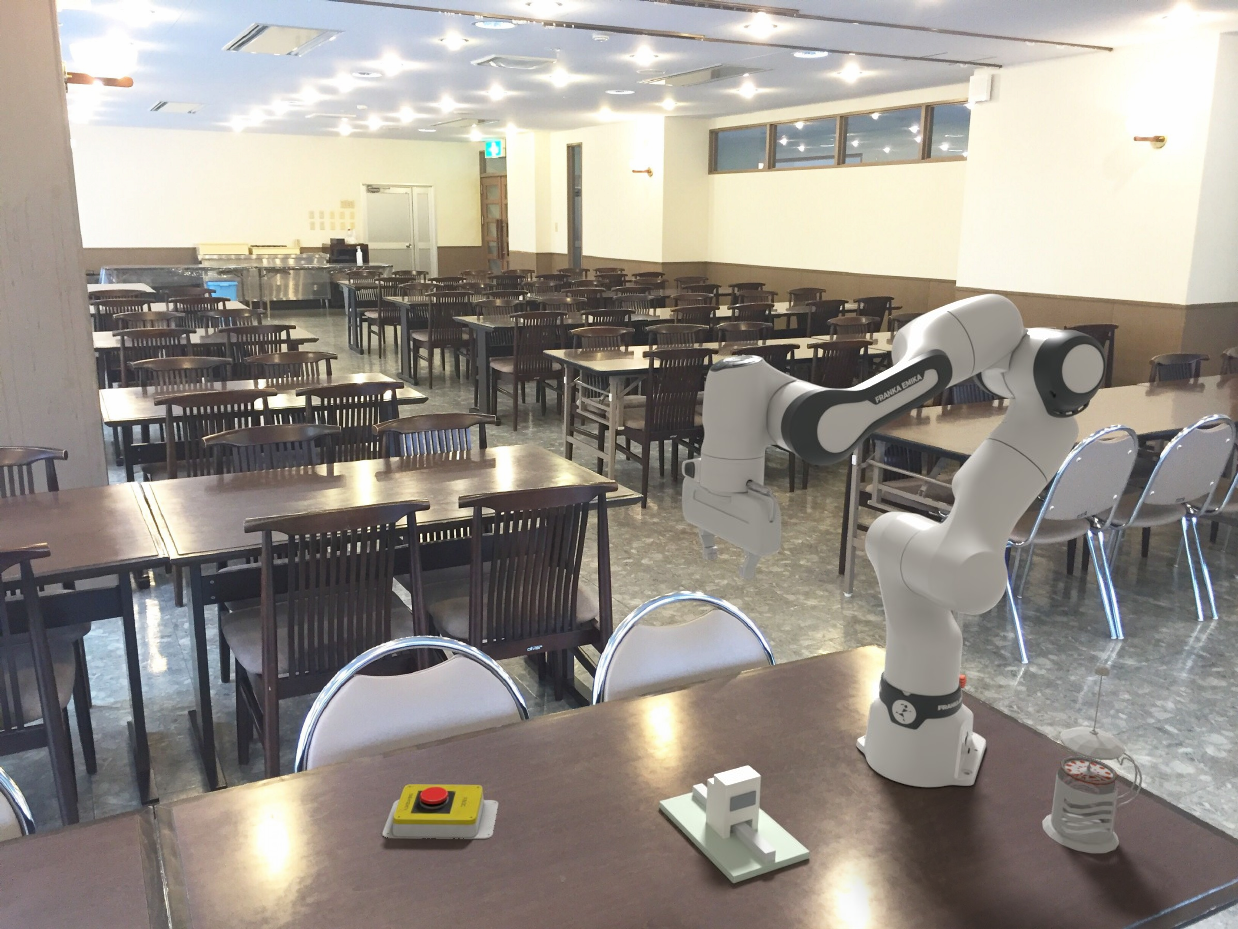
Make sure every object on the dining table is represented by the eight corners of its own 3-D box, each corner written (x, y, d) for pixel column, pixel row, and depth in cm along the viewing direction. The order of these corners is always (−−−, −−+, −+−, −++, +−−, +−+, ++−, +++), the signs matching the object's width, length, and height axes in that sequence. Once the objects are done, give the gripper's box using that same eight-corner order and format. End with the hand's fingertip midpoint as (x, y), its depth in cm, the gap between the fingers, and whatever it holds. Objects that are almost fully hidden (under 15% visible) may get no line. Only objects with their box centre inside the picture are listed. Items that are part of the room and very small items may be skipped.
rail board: (659, 807, 142) (659, 792, 141) (729, 788, 147) (730, 773, 146) (733, 883, 125) (734, 866, 125) (809, 858, 131) (810, 842, 130)
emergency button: (394, 775, 141) (499, 776, 142) (395, 803, 142) (499, 804, 143) (379, 812, 132) (491, 813, 133) (380, 841, 133) (492, 842, 134)
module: (705, 821, 137) (707, 769, 135) (739, 812, 139) (742, 760, 137) (724, 840, 133) (727, 786, 131) (758, 829, 135) (761, 776, 133)
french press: (1033, 809, 143) (1053, 648, 137) (1118, 817, 141) (1142, 654, 136) (1053, 849, 134) (1075, 678, 128) (1144, 858, 132) (1170, 685, 126)
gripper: (796, 487, 130) (790, 587, 133) (712, 457, 147) (708, 545, 150) (756, 492, 127) (751, 594, 130) (675, 460, 144) (672, 551, 148)
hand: (727, 568), depth 140 cm, fingers open, 8 cm apart
